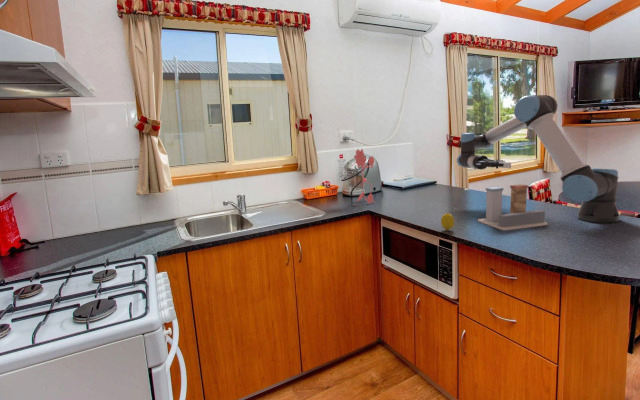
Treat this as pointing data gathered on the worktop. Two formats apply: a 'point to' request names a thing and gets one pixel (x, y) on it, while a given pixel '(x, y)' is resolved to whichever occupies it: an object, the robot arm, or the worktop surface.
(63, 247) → the worktop surface
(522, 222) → the switch base
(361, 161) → the red flowering branch
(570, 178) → the robot arm
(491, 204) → the grey tall block
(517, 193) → the beige wooden tall block
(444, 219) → the lemon
